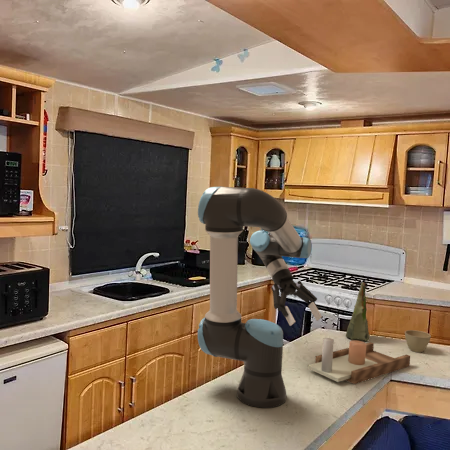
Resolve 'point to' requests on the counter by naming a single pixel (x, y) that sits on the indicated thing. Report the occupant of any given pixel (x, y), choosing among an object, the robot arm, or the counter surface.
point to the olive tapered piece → (359, 318)
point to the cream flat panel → (335, 363)
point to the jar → (357, 352)
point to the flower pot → (417, 340)
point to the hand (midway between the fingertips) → (306, 321)
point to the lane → (382, 367)
